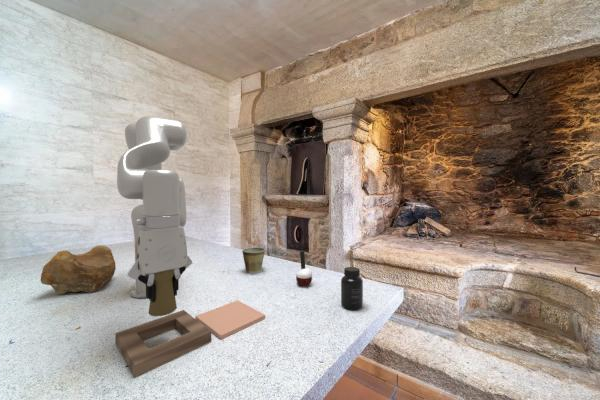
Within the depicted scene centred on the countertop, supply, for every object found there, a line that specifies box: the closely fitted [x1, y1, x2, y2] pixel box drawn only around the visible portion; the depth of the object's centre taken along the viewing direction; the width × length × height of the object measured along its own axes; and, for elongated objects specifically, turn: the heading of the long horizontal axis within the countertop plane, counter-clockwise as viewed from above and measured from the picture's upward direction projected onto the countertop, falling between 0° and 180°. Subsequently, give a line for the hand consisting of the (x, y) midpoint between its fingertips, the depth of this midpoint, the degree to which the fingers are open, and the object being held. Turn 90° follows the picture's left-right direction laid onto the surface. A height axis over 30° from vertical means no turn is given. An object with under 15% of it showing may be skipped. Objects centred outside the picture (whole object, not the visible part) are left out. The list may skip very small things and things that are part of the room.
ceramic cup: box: [242, 246, 266, 275], centre depth 114 cm, size 13×10×10 cm
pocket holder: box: [115, 309, 212, 378], centre depth 60 cm, size 16×16×2 cm
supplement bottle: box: [340, 266, 364, 311], centre depth 80 cm, size 7×7×12 cm
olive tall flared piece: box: [148, 269, 177, 317], centre depth 60 cm, size 6×6×11 cm
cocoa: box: [295, 250, 313, 288], centre depth 97 cm, size 10×6×12 cm, turn 168°
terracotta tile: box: [195, 299, 266, 340], centre depth 71 cm, size 14×14×1 cm
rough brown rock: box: [40, 245, 117, 295], centre depth 93 cm, size 23×17×15 cm
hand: (162, 296), depth 60 cm, fingers closed on olive tall flared piece, 4 cm apart
